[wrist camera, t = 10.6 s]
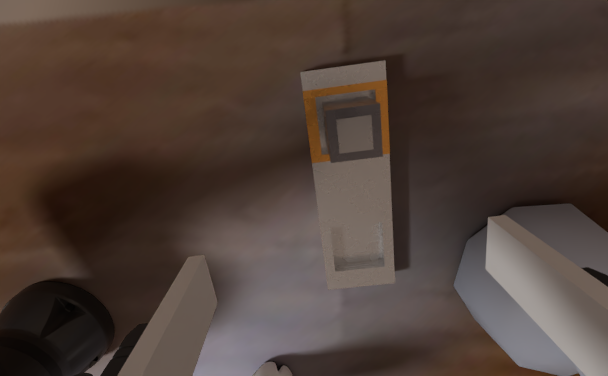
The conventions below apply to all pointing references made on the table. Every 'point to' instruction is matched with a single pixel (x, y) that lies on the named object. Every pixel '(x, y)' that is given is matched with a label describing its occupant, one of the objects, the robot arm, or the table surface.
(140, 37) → the table surface
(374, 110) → the grey tall square block
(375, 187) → the rail
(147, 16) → the table surface
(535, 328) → the bottle
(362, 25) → the table surface
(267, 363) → the water bottle
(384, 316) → the table surface
